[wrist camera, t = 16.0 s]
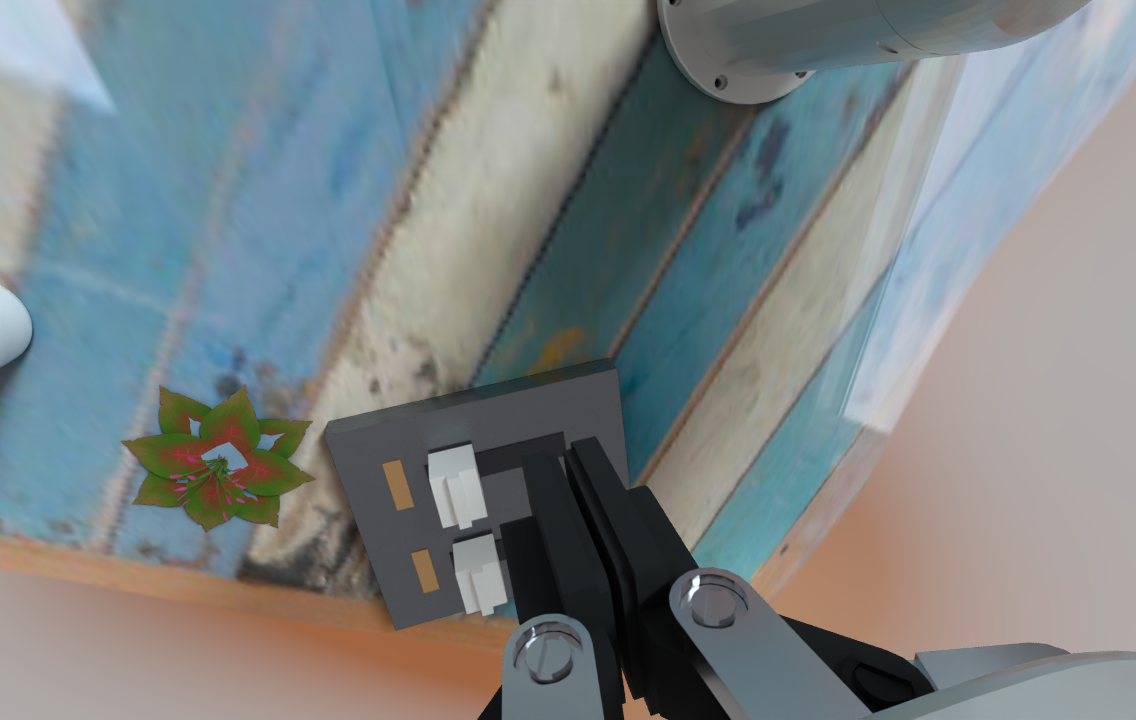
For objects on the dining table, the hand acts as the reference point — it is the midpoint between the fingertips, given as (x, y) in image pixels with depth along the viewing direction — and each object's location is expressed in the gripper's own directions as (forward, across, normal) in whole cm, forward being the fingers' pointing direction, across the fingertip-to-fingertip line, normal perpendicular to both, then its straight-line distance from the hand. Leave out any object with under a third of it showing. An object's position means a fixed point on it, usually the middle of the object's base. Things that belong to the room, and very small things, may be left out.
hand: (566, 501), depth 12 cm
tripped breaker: (+25, +4, +23) cm, 34 cm away
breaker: (+25, +4, +15) cm, 29 cm away
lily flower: (+28, +19, +11) cm, 35 cm away
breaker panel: (+27, +2, +19) cm, 33 cm away
